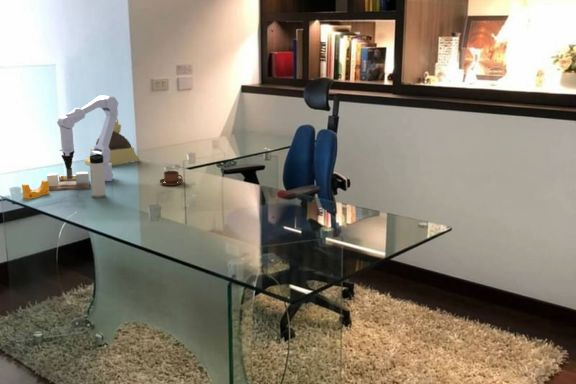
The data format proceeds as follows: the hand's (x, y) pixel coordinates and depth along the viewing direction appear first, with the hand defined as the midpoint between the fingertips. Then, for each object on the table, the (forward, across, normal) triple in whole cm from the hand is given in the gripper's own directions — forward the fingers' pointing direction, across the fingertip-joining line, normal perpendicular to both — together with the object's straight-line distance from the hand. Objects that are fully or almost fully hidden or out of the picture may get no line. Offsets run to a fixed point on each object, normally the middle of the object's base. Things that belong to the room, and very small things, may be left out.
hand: (69, 167), depth 322 cm
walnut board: (+10, 0, -2) cm, 10 cm away
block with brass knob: (+7, 0, +2) cm, 8 cm away
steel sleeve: (+10, 0, +6) cm, 12 cm away
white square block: (+10, 0, -8) cm, 13 cm away
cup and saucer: (+10, +5, +50) cm, 51 cm away
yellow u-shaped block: (+10, +16, -14) cm, 23 cm away
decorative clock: (+10, -51, +21) cm, 56 cm away
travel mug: (+10, +22, +14) cm, 28 cm away
